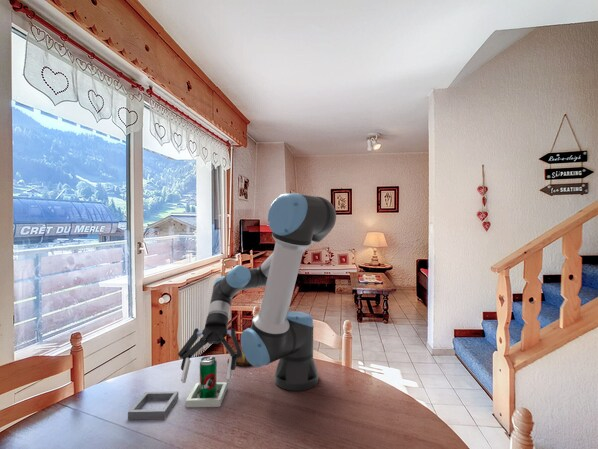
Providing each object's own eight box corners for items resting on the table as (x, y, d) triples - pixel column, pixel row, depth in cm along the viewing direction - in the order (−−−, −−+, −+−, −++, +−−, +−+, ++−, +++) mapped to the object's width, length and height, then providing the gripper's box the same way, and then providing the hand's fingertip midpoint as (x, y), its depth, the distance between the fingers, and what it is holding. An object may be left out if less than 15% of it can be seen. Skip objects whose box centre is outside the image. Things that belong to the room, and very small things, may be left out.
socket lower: (227, 388, 96) (227, 382, 96) (220, 406, 86) (220, 399, 86) (196, 388, 95) (196, 382, 96) (185, 407, 85) (185, 400, 86)
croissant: (262, 359, 118) (262, 347, 118) (261, 367, 111) (261, 354, 111) (229, 360, 118) (229, 347, 118) (225, 368, 111) (225, 354, 111)
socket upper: (178, 397, 90) (178, 391, 90) (164, 418, 80) (164, 411, 80) (145, 398, 90) (145, 391, 90) (127, 419, 80) (127, 412, 80)
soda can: (219, 394, 92) (219, 356, 93) (209, 403, 88) (210, 363, 88) (206, 391, 94) (206, 354, 94) (195, 400, 89) (196, 360, 89)
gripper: (253, 321, 107) (248, 384, 92) (185, 322, 106) (167, 385, 91) (252, 311, 102) (245, 375, 86) (180, 311, 101) (160, 377, 85)
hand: (205, 381), depth 88 cm, fingers open, 13 cm apart
